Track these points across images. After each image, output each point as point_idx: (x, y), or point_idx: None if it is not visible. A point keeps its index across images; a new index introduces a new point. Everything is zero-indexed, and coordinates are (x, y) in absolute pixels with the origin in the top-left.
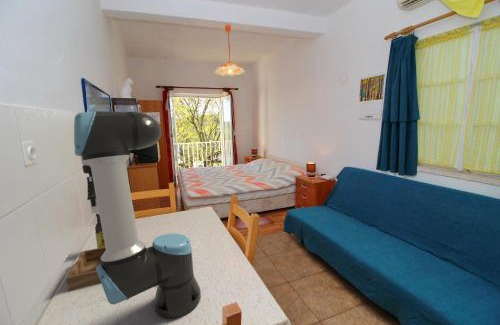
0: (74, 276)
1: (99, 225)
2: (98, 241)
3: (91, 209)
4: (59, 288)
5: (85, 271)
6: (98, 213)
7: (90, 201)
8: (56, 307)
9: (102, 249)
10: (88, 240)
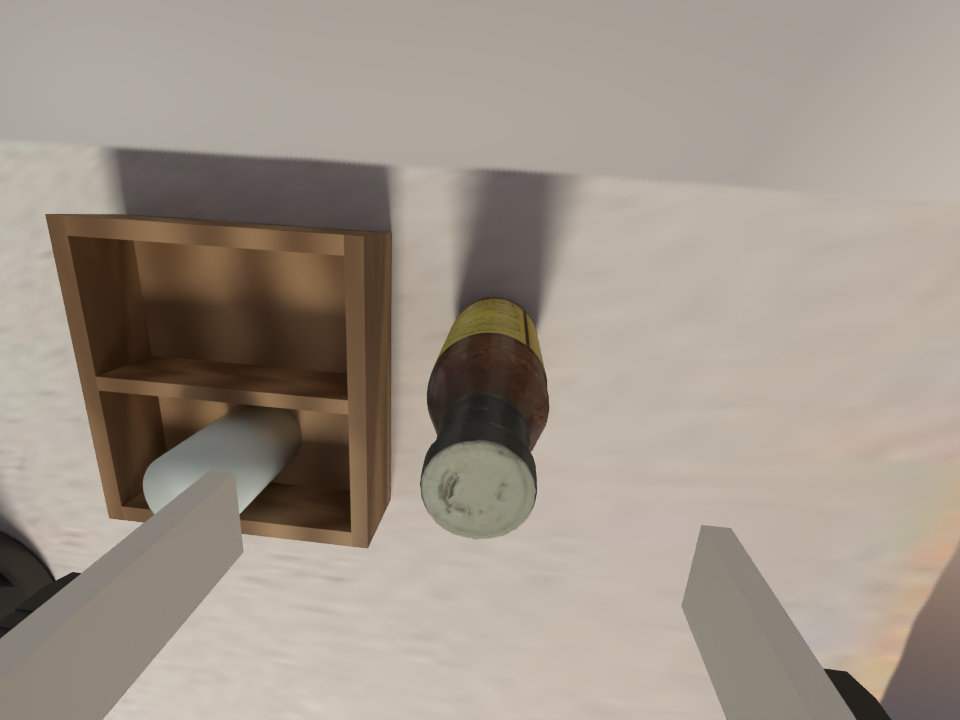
0: (57, 254)
1: (440, 402)
2: (451, 333)
3: (161, 510)
4: (181, 152)
5: (266, 262)
6: (448, 471)
7: (1, 646)
8: (40, 183)
9: (350, 360)
10: (771, 193)
